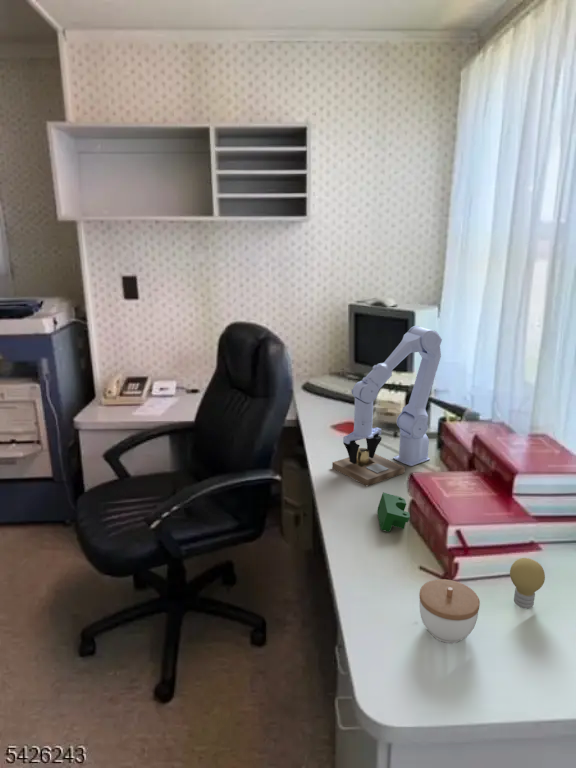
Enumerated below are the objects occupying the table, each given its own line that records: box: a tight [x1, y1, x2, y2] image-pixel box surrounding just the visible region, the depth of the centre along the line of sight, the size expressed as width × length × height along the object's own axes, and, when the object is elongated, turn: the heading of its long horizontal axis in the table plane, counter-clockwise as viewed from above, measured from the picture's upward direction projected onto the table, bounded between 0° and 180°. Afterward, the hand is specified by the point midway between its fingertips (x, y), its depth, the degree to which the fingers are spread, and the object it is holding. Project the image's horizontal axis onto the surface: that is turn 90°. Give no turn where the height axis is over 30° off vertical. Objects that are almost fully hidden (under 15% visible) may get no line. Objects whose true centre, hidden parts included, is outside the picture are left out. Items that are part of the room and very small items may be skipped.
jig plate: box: [331, 453, 406, 487], centre depth 174 cm, size 16×16×2 cm
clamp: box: [376, 492, 411, 533], centre depth 142 cm, size 12×6×9 cm, turn 170°
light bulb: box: [509, 557, 546, 610], centre depth 110 cm, size 6×6×10 cm
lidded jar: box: [419, 578, 481, 644], centre depth 102 cm, size 11×11×9 cm
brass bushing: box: [356, 447, 369, 467], centre depth 176 cm, size 4×4×6 cm
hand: (361, 459), depth 176 cm, fingers open, 7 cm apart
